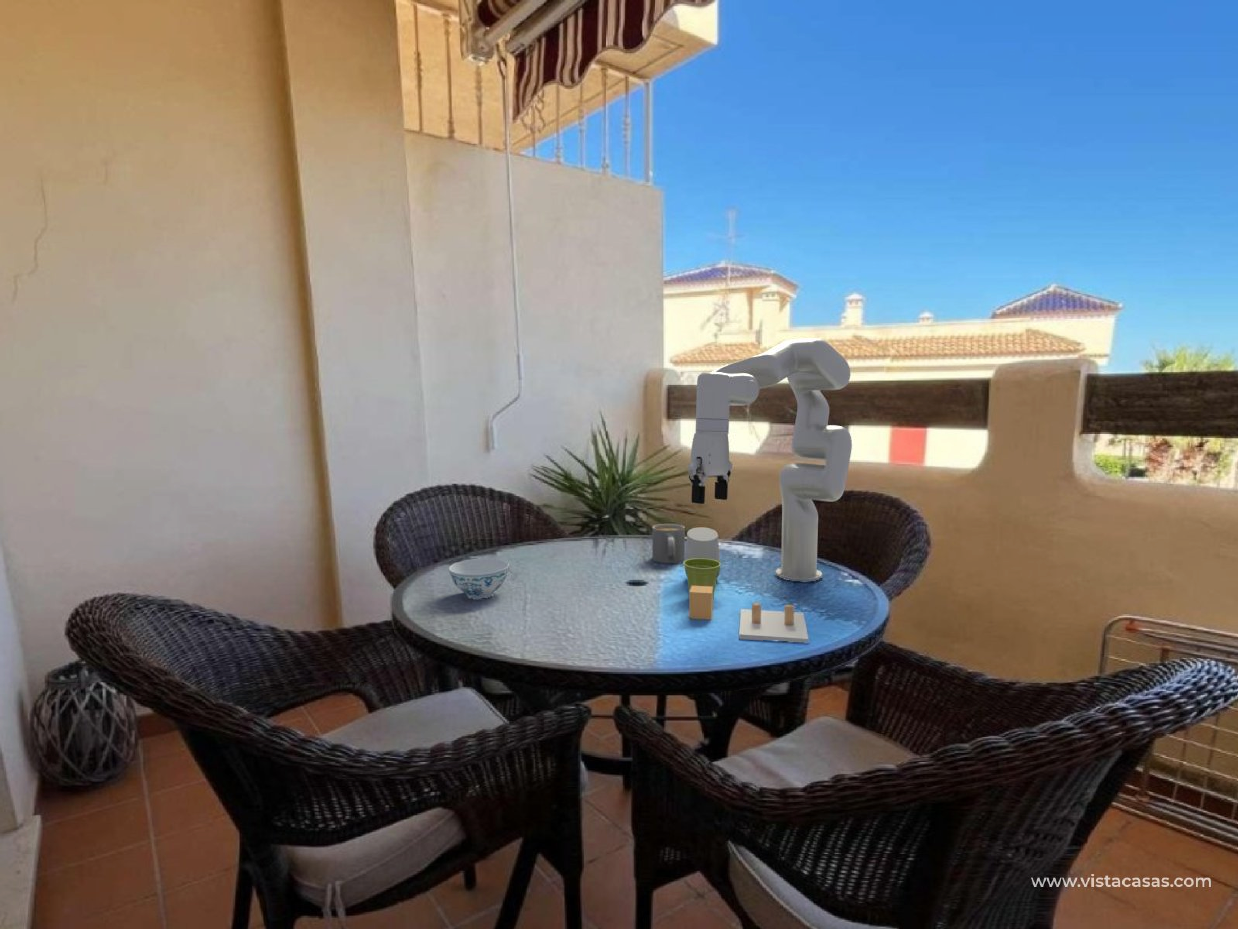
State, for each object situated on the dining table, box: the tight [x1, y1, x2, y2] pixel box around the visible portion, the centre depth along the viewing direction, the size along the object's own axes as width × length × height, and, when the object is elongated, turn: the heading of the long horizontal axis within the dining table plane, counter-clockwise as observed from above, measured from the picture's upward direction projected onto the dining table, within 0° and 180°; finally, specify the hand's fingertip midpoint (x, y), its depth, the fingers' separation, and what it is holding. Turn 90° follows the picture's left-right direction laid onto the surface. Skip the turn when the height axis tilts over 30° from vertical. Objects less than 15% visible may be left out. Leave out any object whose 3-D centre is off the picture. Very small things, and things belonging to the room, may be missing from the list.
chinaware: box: [448, 558, 510, 600], centre depth 168 cm, size 15×15×8 cm
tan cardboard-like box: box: [688, 586, 714, 621], centre depth 151 cm, size 5×5×6 cm
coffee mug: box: [651, 523, 686, 564], centre depth 200 cm, size 13×10×10 cm
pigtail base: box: [738, 602, 809, 643], centre depth 143 cm, size 16×14×5 cm
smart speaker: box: [684, 526, 721, 580], centre depth 179 cm, size 10×9×14 cm
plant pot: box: [682, 558, 722, 597], centre depth 165 cm, size 9×9×9 cm
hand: (709, 501), depth 151 cm, fingers open, 9 cm apart
